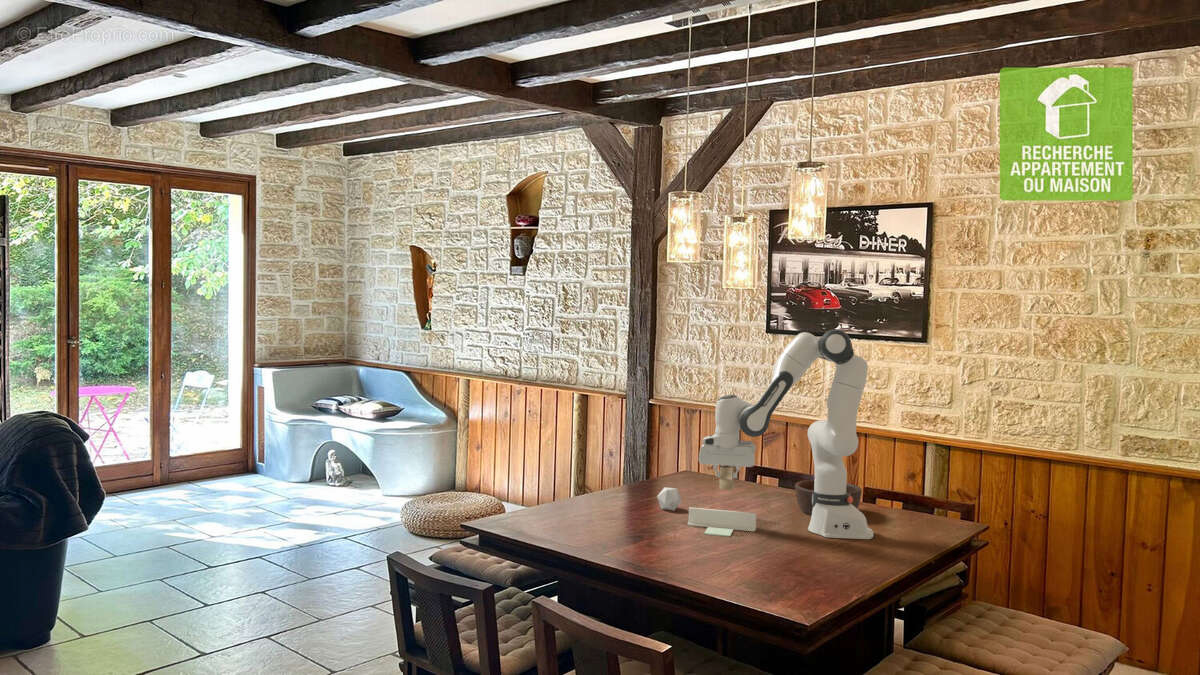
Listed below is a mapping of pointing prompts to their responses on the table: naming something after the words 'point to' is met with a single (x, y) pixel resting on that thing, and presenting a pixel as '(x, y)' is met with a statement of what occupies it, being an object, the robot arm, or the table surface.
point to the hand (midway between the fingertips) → (726, 477)
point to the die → (669, 498)
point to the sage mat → (718, 531)
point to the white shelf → (722, 519)
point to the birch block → (726, 477)
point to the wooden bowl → (806, 490)
